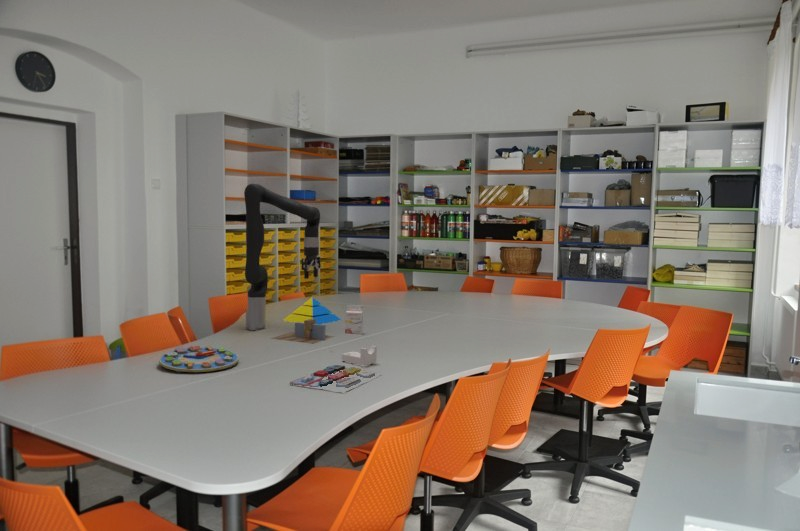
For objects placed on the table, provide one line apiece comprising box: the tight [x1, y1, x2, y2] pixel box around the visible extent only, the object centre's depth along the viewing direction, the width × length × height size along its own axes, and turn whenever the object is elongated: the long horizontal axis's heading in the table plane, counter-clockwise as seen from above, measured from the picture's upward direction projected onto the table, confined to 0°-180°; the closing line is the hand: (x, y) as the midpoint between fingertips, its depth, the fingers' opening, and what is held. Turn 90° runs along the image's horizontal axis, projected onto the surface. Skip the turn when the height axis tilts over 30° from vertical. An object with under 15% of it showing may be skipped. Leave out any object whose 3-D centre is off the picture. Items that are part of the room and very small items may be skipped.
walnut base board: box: [270, 331, 336, 345], centre depth 313 cm, size 24×20×1 cm
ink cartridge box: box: [344, 304, 364, 336], centre depth 328 cm, size 9×5×15 cm, turn 84°
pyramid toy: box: [283, 296, 342, 325], centre depth 367 cm, size 25×25×14 cm
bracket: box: [341, 345, 378, 367], centre depth 268 cm, size 13×7×8 cm, turn 52°
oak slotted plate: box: [304, 319, 316, 340], centre depth 311 cm, size 2×6×9 cm, turn 155°
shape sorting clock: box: [158, 345, 240, 374], centre depth 259 cm, size 31×30×6 cm
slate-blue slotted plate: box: [294, 322, 326, 341], centre depth 311 cm, size 16×2×7 cm, turn 65°
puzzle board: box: [289, 364, 376, 388], centre depth 241 cm, size 30×23×3 cm
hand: (311, 277), depth 330 cm, fingers open, 8 cm apart
